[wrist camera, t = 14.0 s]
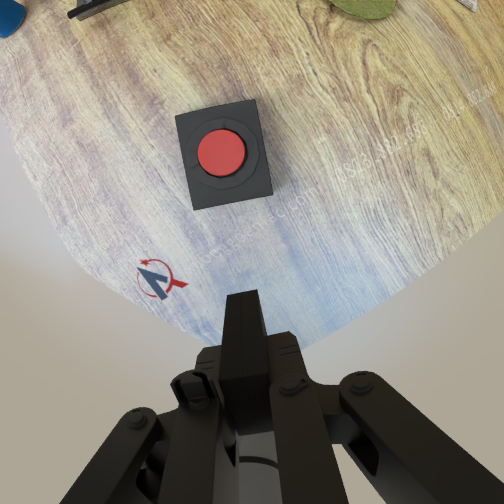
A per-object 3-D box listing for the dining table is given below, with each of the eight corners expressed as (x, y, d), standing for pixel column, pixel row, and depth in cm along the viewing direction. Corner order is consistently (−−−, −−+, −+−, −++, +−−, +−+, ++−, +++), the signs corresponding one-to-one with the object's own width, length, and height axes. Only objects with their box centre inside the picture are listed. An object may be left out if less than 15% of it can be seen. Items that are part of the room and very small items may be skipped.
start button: (248, 170, 31) (248, 170, 29) (205, 179, 31) (202, 180, 29) (240, 127, 29) (239, 125, 27) (196, 136, 29) (193, 135, 27)
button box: (271, 193, 35) (275, 196, 31) (196, 207, 35) (190, 213, 31) (254, 102, 32) (255, 95, 28) (178, 118, 32) (170, 113, 28)
